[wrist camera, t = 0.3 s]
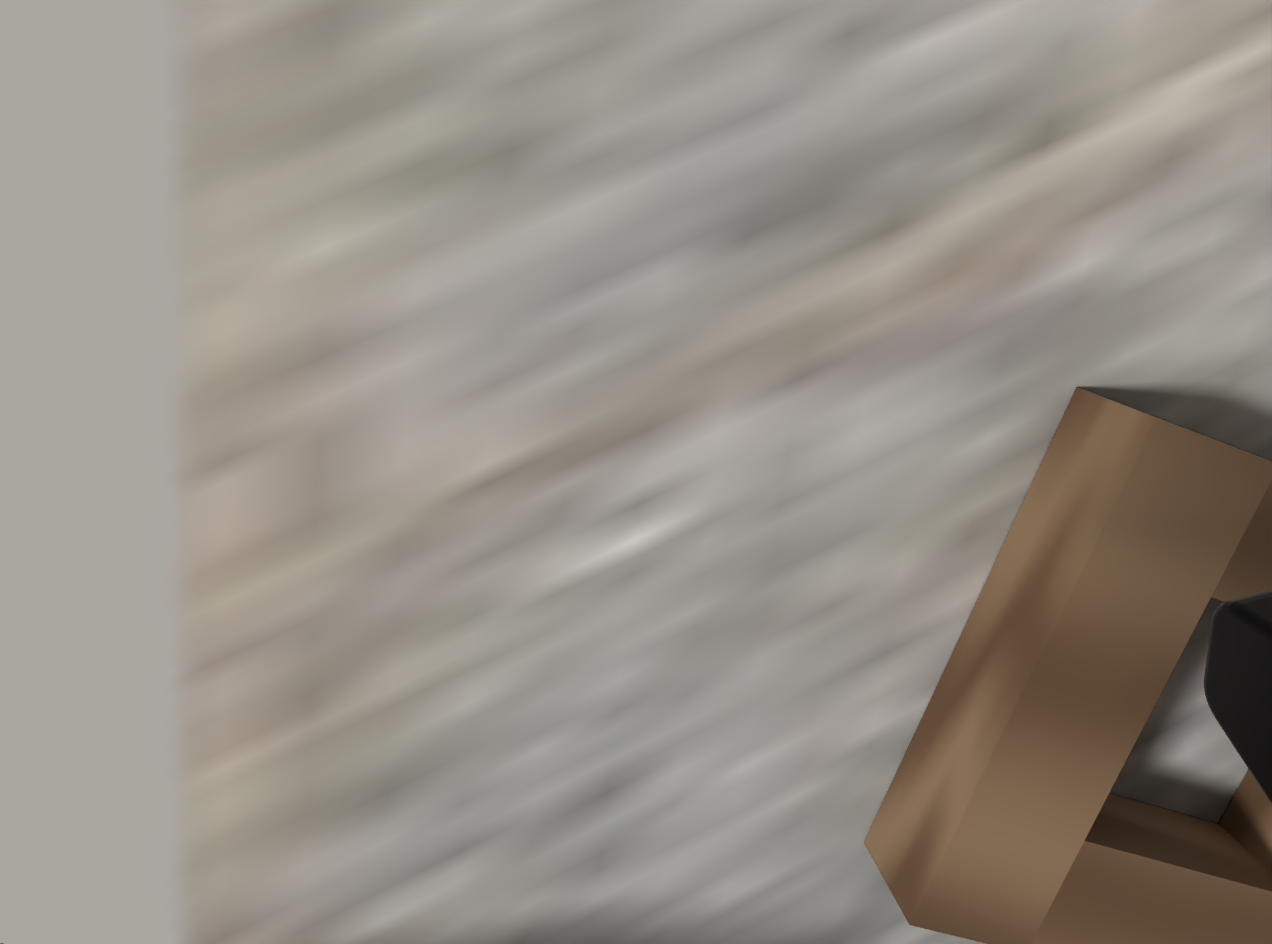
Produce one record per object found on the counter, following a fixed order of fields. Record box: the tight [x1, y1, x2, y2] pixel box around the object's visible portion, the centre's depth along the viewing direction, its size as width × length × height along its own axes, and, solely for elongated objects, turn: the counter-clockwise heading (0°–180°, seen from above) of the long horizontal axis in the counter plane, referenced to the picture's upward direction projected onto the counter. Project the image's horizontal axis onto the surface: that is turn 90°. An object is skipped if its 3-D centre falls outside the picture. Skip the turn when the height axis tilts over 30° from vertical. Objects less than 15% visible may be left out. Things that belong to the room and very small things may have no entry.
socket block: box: [864, 387, 1272, 944], centre depth 25 cm, size 12×12×3 cm
